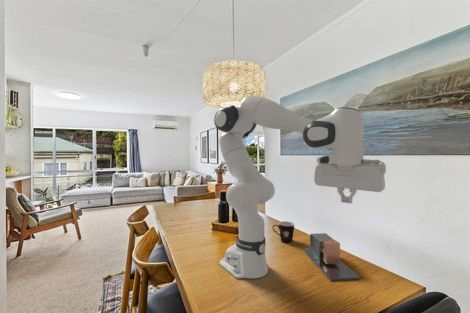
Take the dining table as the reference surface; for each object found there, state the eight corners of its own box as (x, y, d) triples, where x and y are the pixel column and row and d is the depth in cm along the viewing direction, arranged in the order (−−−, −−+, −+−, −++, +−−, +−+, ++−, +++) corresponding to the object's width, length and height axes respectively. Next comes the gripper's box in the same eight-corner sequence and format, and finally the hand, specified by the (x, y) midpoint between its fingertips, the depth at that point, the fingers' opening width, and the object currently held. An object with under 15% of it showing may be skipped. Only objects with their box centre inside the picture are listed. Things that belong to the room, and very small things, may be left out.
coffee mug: (297, 240, 130) (297, 223, 130) (289, 245, 124) (289, 227, 124) (279, 235, 138) (279, 219, 138) (271, 239, 132) (271, 222, 132)
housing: (359, 279, 91) (359, 254, 91) (330, 280, 90) (330, 255, 90) (325, 249, 119) (325, 230, 119) (303, 250, 118) (303, 231, 118)
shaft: (339, 263, 100) (340, 243, 100) (326, 264, 99) (326, 243, 99) (321, 247, 117) (321, 229, 117) (310, 247, 116) (310, 230, 116)
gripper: (388, 159, 67) (387, 206, 67) (320, 158, 81) (320, 196, 82) (383, 160, 62) (382, 210, 63) (312, 158, 77) (312, 199, 77)
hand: (346, 202), depth 72 cm, fingers closed
